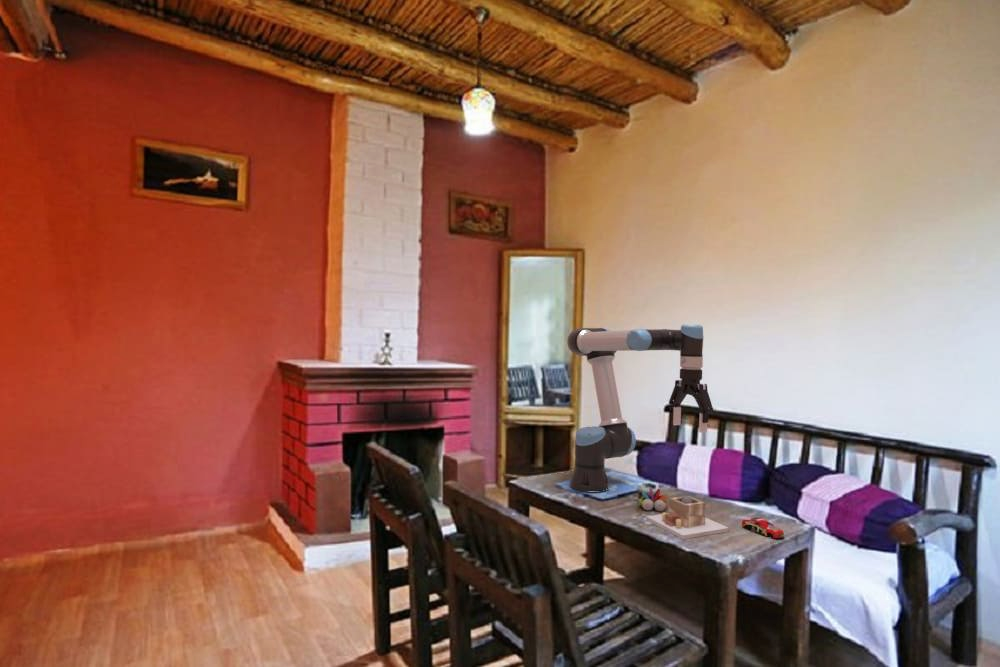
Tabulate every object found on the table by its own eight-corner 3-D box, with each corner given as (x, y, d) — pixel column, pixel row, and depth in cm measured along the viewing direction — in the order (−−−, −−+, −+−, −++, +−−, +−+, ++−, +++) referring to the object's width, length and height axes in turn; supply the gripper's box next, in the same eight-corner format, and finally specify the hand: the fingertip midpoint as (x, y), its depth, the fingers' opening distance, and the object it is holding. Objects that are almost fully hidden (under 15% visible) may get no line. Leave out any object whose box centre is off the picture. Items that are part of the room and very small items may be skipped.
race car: (787, 539, 174) (788, 526, 174) (776, 542, 171) (776, 529, 171) (750, 525, 185) (751, 512, 185) (739, 527, 183) (739, 515, 183)
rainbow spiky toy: (668, 513, 195) (668, 492, 195) (639, 511, 197) (639, 490, 197) (666, 505, 204) (666, 485, 203) (638, 503, 205) (638, 483, 205)
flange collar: (687, 516, 188) (688, 495, 188) (705, 524, 181) (705, 502, 181) (659, 520, 184) (660, 499, 184) (676, 529, 177) (676, 506, 176)
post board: (646, 519, 188) (646, 492, 188) (689, 513, 195) (689, 487, 195) (683, 539, 171) (683, 509, 171) (728, 531, 178) (729, 502, 178)
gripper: (659, 365, 210) (658, 422, 210) (707, 371, 186) (706, 435, 187) (676, 365, 212) (675, 421, 213) (725, 371, 189) (723, 434, 190)
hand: (689, 428), depth 200 cm, fingers open, 13 cm apart
